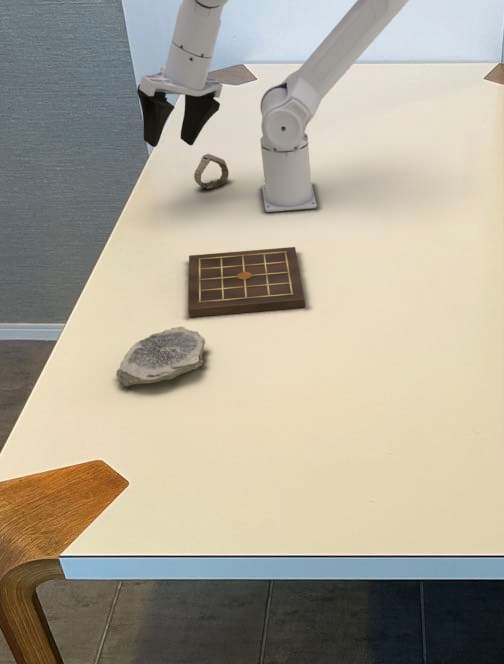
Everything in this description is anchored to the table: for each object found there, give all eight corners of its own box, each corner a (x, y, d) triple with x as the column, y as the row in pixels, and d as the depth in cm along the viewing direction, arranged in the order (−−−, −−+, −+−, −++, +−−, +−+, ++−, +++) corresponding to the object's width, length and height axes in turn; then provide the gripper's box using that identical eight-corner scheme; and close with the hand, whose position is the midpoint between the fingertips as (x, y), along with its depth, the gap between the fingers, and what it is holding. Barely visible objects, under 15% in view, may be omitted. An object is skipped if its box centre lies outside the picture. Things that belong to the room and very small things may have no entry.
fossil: (157, 315, 106) (219, 319, 101) (171, 343, 108) (232, 348, 103) (98, 369, 99) (161, 376, 94) (114, 397, 102) (176, 406, 97)
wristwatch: (233, 182, 141) (229, 151, 138) (205, 194, 138) (200, 163, 134) (219, 177, 143) (215, 146, 139) (191, 189, 139) (185, 157, 136)
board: (190, 263, 121) (188, 254, 120) (295, 254, 123) (295, 245, 122) (189, 317, 111) (188, 308, 110) (305, 307, 112) (304, 298, 111)
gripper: (207, 37, 126) (184, 128, 134) (133, 30, 115) (113, 129, 123) (241, 61, 124) (215, 151, 132) (170, 56, 113) (147, 155, 122)
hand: (168, 142), depth 128 cm, fingers open, 7 cm apart
